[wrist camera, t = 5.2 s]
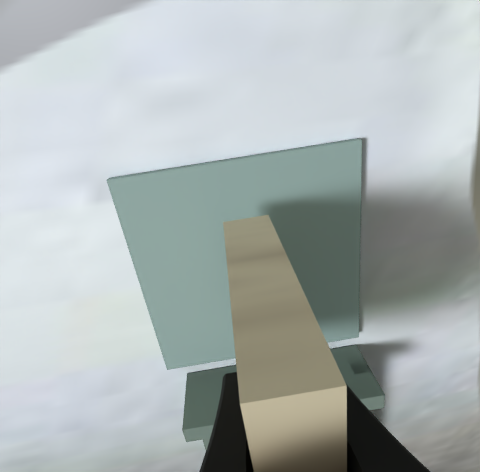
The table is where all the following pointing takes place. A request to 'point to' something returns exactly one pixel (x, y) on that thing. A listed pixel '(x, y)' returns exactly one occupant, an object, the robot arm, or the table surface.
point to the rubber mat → (213, 241)
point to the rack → (210, 381)
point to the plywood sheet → (281, 359)
